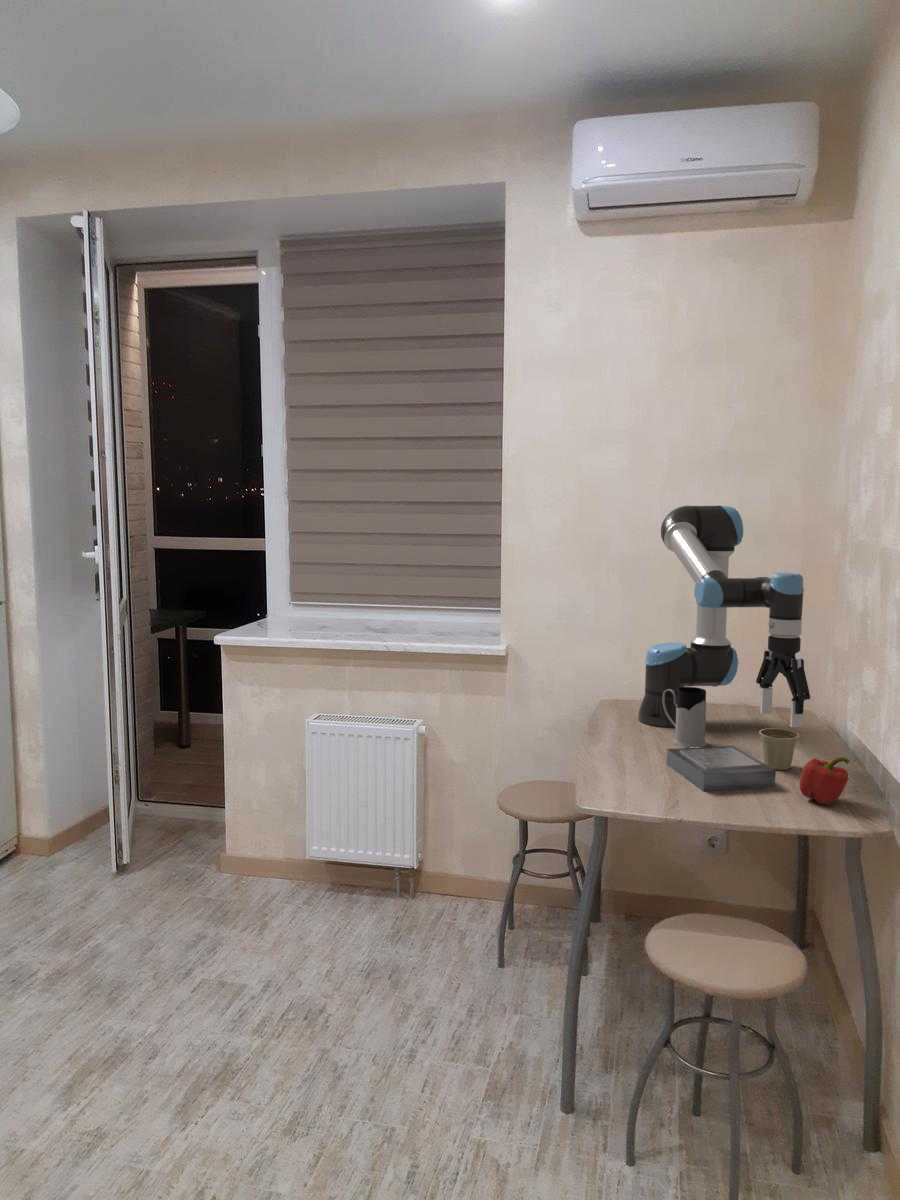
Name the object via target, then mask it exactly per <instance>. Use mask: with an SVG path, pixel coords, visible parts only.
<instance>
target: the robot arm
mask: <svg viewBox="0 0 900 1200" xmlns="http://www.w3.org/2000/svg"><path fill="white" fill-rule="evenodd" d="M660 537H661V539H662V540H661V541H662V542H663V544H664V545H665V546H666V548H667V549H668V550H669V551H671V552H674V554H675V555H676V557H677V558H678V560H679V562H680V563H681V564H682V566H683V567H684V568H685V570H686V572H687V573H688V574H689V576H690V578H692V580H693V582H694V584H695V585H694V592H693V593H694V594H693V595H694V598H695V603H696V627H695V628H696V629H695V630H696V632H695V636H694V637H693V638H692V639H691V640H690V647H687V645H686V643H684V642H672V641H671V642H662V643H657V644H654V645H652V646H650V647H649V648H647V651H646V657H645V661H644V662H645V663H644V664H645V680H644V696H643V698H642V701H641V703H640V707H639V709H638V714H637V720H638V721H639V722H641V723H643V724H646V725H650V726H654V727H655V726H656V727H664V728H665V727H667V728H670V727H671V728H675V727H674V725H673V724H672V723H671V721H670V720H669V718H668V717H667V715H666V713H665V711H664V707H663V702H662V696H663V692H664V691H665V690H667V689H671V690H673V691H674V692H675V694H676V703H677V696H678V688H681V687H714V688H715V687H719V686H720V687H723V686H728V685H730V683H732V682H733V680H734V679H735V677H736V675H737V673H738V668H739V659H738V653H737V650H736V649H735V648H734V647H732V643H731V641H730V640H729V639H728V638H727V619H728V618H727V615H728V614H727V612H728V608H766V609H769V615H768V616H769V617H768V618H769V619H768V634H770V635H769V636H768V638H767V649H768V650H765V651H764V652H763V660H762V663H761V666H760V669H759V671H758V675H757V677H756V680H755V683H756V684H759V687H760V688H761V689H760V690H761V691H760V714H761V715H762V714H763V715H764V714H772V712H773V691H774V690H773V689H774V688H773V687H774V686H773V684H774V682H775V680H776V678H778V675H779V674H782V676H783V677H785V678H786V682H787V684H788V687H789V689H790V692H791V695H792V698H791V699H790V700H791V701H790V702H791V703H790V722H789V726H790V728H798V727H800V728H801V727H803V719H804V718H803V715H804V704H805V701H806V700H810V699H811V695H810V689H809V684H808V680H807V675H806V672H805V661H804V658H797V657H796V654H797V653H799V652H801V643H802V642H801V641H802V639H801V638H800V636H801V635H802V626H803V625H802V623H803V622H802V621H803V620H802V619H803V617H802V616H803V605H804V604H803V603H804V601H803V600H804V590H805V588H804V576H803V575H802V574H800V573H797V572H796V573H794V572H775V573H772V575H771V577H769V576H757V577H750V578H749V577H748V578H747V577H744V578H743V577H742V578H741V577H737V578H736V577H734V578H733V577H731V578H729V562H730V557H731V556H732V555H733V554H734V553H735V548H736V546H738V545H740V544H741V543H742V542H743V541H742V540H743V537H744V523H743V520H742V517H741V515H740V512H739V511H738V510H737V509H736V508H735V507H733V506H729V505H728V506H727V505H682V506H678V507H676V508H675V509H673V510H671V511H670V512H669V513H668V514H667V515H666V517H665V518H664V519H663V521H662V522H661V526H660ZM665 706H666V709H667V712H668V714H669V716H670V717H671V719H672V720H673V722H674V723H675V724H676V707H677V706H675V704H674V696H673V693H672V692H671V691H669V690H667V691H666V693H665Z"/></svg>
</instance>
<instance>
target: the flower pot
mask: <svg viewBox="0 0 900 1200" xmlns="http://www.w3.org/2000/svg"><path fill="white" fill-rule="evenodd" d="M758 733H759V735H760V739H761V743H762V751H763V760H764V764H765V765H767V766H769V767H771V768H772V769H774V770H776V771H777V770H778V771H779V770H780V771H787V770H788V769H791V767H792V763H793V758H794V757H793V756H794V752H795V749H796V743H797V741H798V739H799V738H800V734H799V733H797V732H795V731H793V730H790V729H786V728H785V729H783V728H770V727H769V728H763V729H760V730H759V731H758Z"/></svg>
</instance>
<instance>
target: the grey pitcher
mask: <svg viewBox="0 0 900 1200" xmlns="http://www.w3.org/2000/svg"><path fill="white" fill-rule="evenodd" d="M667 690H669V691H671V692H672V693H673V696H674V704H675V706H677V707H676V724H675V723H674V722H673V720H672V719H671V717H670V716H669V714H668V712H667V709H666V706H665V693H666V691H667ZM667 690H665V691H664V692H663V696H662V702H663V707H664V711H665V713H666V715H667V717H668V718H669V720H670V721H671V723H672V724H673V725H674V727H673V728H675V729H674V730H675V735H674V738H673V741H674V743H675V744H674V743H673V744H674V745H676V744H677V745H676V746H678V745H681V746H684V747H683V748H687V747H694V748H695V747H704V746H705V747H707V743H706V719H707V690H706V689H704V688H700V687H697V686H686V687H681V688H678V696H677V703H676V694H675V692H674V691H673V690H671V689H667ZM681 746H680V747H681Z"/></svg>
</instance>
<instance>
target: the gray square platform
mask: <svg viewBox="0 0 900 1200" xmlns="http://www.w3.org/2000/svg"><path fill="white" fill-rule="evenodd" d="M667 764H668V765H669V766H668V765H667ZM666 765H667V766H668V767H670V768H671V767H672V768H673V769H672V768H671V769H672V770H673V771H675V770H676V771H677V772H676V771H675V772H676V773H678V772H679V773H680V774H679V773H678V774H679V775H680V776H682V775H683V776H684V777H683V776H682V777H683V778H685V777H686V778H687V779H688V780H687V779H686V778H685V779H686V780H687V781H689V782H690V781H691V782H692V784H693V785H694V786H696V787H697V788H698V787H699V789H700V790H701V791H702V792H708V791H709V792H712V791H713V792H714V791H727V790H728V791H729V790H742V789H743V790H744V789H745V790H746V789H762V788H764V787H766V788H775V787H776V773H777V770H775V769H773V768H771V767H769V766H767V765H765V764H764V763H763V762H762V761H761V760H758V759H757V758H755V757H753V756H752V755H750V754H748V753H747V752H745V751H744V750H741V749H739V748H738V747H736V746H734V745H721V746H720V745H719V746H705V747H699V748H687V747H681V748H680V747H679V748H667V749H666ZM691 782H690V783H691Z"/></svg>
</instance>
